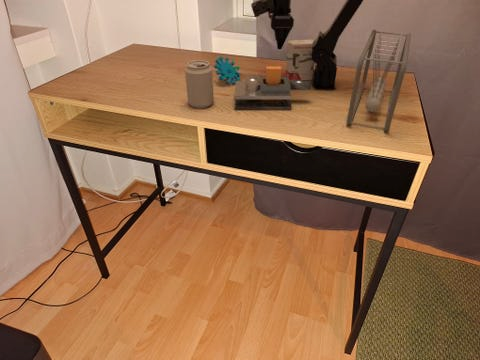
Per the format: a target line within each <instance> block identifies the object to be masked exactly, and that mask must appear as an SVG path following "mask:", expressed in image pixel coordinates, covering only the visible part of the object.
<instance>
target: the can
mask: <svg viewBox="0 0 480 360" xmlns="http://www.w3.org/2000/svg"><path fill="white" fill-rule="evenodd" d="M184 75H185V84H186V95H187V96H186V97H187V102H188V104H189V105H190V106H191V107H192V108H195V109H205V108H208V107H210V106H211V105H212V104H213V103H214V98H215V97H214V83H213V82H214V81H213V80H214V79H213V77H214V75H213V68H212V66H211V65H210V62H209V61H208V60H204V59H195V60H191V61H188V62H187V63H186V67H185V69H184Z"/></svg>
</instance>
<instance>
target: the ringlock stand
mask: <svg viewBox="0 0 480 360" xmlns="http://www.w3.org/2000/svg"><path fill="white" fill-rule="evenodd" d="M235 81H236V80H235ZM311 88H312V80H289V78H288V77H285V76H281V80H280V83H278V84H268V83H266V76H259V75H253V74H251V75H246V76H244V80H240V81H236V84H235V88H234V111H292V109H293V107H292V102H291V98H292V97H291V91H311Z"/></svg>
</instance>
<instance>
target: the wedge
mask: <svg viewBox="0 0 480 360" xmlns="http://www.w3.org/2000/svg"><path fill="white" fill-rule="evenodd" d="M265 67H266V69H265V70H266V71H265V72H266V73H265V77H266V83H268V84H278V83H280V80H281V77H282V67H281V66H270V65H269V66H265Z"/></svg>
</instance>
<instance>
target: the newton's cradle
mask: <svg viewBox="0 0 480 360" xmlns="http://www.w3.org/2000/svg"><path fill="white" fill-rule="evenodd" d="M377 34H379V35H378V37H377V39H376V35H377ZM382 34H383V35H384V34H385V35H394V36H396V35H397V36H400V38H398V39H397V42H395V41H394V42H392V41H391V43H393V44H394V43H395V44H396V45H395V46H393V45H392V46H391V45H390V47H391V48H394V49H393V50H388V49H386V51H389V52H392V54H389V57H390V58H389V60H385V59H381V57H380V56H381V55H383V56H386V54H384V53H380V51H381V50H382V51H383V49H381V48H380V47H381V46H384V47H386V45H384V44H383V45H382V44H381V42H382V43H383V42H384V43H385V42H386V43H387V41H383V40H381V38H382V39H383V38H384V39H385V37H384V36H382ZM403 37H405V39H404V43H403V47H402V51H401V53H400V48H401V42H402V39H403ZM411 37H412V33H411V32H408V33H400V32H398V33H397V32H387V31H386V32H385V31H377V29H373V30H371V32H370V34H369V37H368V39H367V41H366V43H365V46H364V48H363V50H362V52H361V54H360V56H359V58H358V62H357V67H356V71H355V77H354V81H353V87H352V91H351V98H350V103H349V108H348V113H347V118H346V125H348V126H350V125H352V124H354V125H360V126H365V127H371V128H378V129H383V130H384V132H389V130H390V128H391V124H392V121H393V117H394V114H395V109H396V105H397V102H398V98H399V95H400V91H401V87H402V85H403V81H404V77H405V73H406V70H407V65H408V58H409V51H410V47H411ZM390 39H393V40H395V38H392V37H390ZM375 40H376V42H375ZM379 44H380V45H379ZM399 53H400V54H401V55H400V58H399V61H398V57H399ZM373 57H374V58H373ZM364 61H365V66H364V70H363V74H362V69H363V65H364ZM371 61H373V62H374V67H373V71H372V72H373V77H372V82H371V83H372V84H371V86H370V87H366V81H367V79H368V74H369V73H368V72H369V69H370V68H369V67H370V64H371ZM381 63H387V65H386V66H385V69H384V71H383V73H382V75H381V76H380V74H381V73H380V72H381ZM393 64H396V65H397V64H398V66H397V70H396V72H395V73H396V74H395V77H394V81H393V85H392V89H391V90H390V89H389V90H387V89H385V88H386V87H385V86H386V83H387V81H386V78H387V76H388V74H389V71H390V69H391V67H392V66H393ZM361 75H362V80H361V84H360V79H361ZM359 85H361V86H360V88H359ZM358 89H359V90H358ZM364 89H367V90H369V92H368V96H367V99H366V101H365V108H366V110H367V111H369V112H372V113H374V112H377V111H378V110H379V109H380V108H381V105H382V104H381V103H382V100H383V97H384V92H387V93H388V92H389V93H391V94H390V99H389V104H388V109H387V112H386V118H385V119H386V120H385V122H384V126H378V125H372V124H367V123H361V122H355V121H353V119H354V117H355V115H356V114H355V113H356V111H357V109H358V106H359V103H360V100H361V97H362V95H363V92H364Z"/></svg>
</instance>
